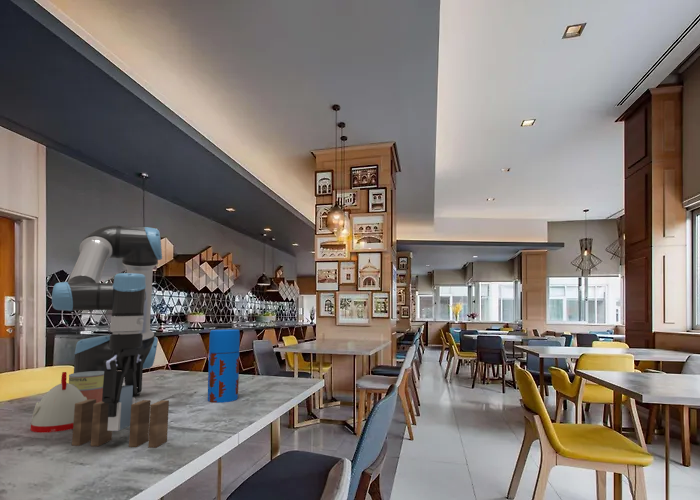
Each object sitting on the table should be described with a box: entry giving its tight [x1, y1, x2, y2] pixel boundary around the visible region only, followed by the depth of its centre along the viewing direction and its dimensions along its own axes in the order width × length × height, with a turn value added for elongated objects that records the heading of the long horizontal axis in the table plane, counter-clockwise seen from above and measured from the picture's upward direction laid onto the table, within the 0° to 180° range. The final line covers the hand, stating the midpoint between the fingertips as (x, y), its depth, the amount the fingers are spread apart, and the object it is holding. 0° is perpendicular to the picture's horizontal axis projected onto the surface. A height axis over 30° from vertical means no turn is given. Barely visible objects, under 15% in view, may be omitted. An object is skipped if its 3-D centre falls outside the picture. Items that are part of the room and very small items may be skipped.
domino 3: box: [117, 384, 133, 432], centre depth 106 cm, size 2×5×10 cm, turn 174°
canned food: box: [68, 371, 104, 403], centre depth 139 cm, size 11×11×12 cm
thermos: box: [207, 329, 241, 404], centre depth 155 cm, size 11×11×25 cm
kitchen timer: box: [30, 371, 87, 434], centre depth 123 cm, size 14×14×15 cm
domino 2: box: [90, 401, 113, 447], centre depth 106 cm, size 2×5×10 cm, turn 174°
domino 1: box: [71, 399, 96, 447], centre depth 107 cm, size 2×5×10 cm, turn 175°
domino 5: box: [147, 399, 170, 449], centre depth 105 cm, size 2×5×10 cm, turn 174°
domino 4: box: [128, 399, 151, 448], centre depth 105 cm, size 2×5×10 cm, turn 174°
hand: (120, 426), depth 105 cm, fingers closed on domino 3, 5 cm apart
